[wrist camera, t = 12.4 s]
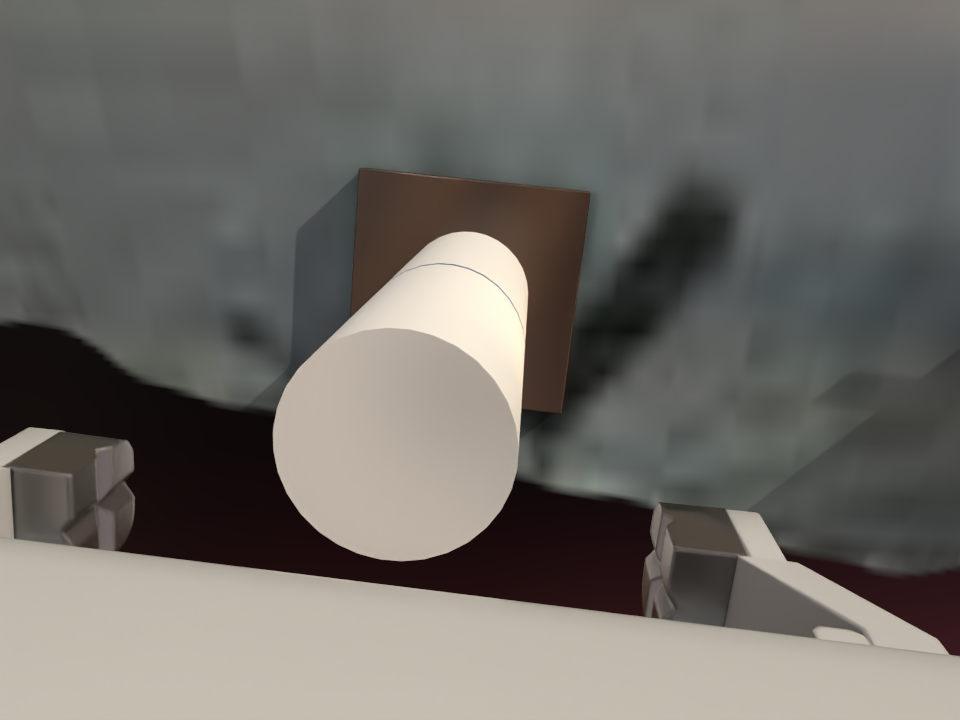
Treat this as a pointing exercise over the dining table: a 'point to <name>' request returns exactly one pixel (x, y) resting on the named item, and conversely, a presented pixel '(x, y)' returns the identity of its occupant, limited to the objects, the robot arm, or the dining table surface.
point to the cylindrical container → (413, 407)
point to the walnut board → (498, 214)
